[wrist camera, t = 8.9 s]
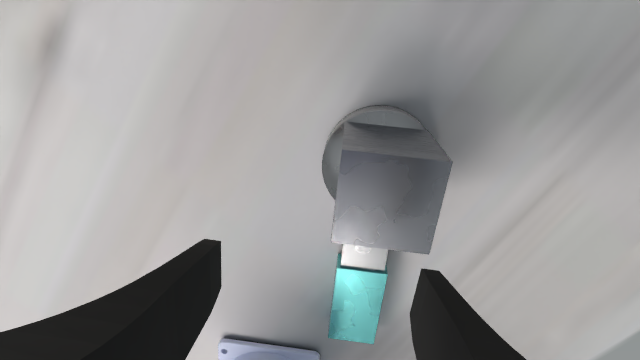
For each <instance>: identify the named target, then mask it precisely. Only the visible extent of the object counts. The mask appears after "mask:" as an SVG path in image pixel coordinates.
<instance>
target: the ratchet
mask: <svg viewBox="0 0 640 360" xmlns="http://www.w3.org/2000/svg"><path fill="white" fill-rule="evenodd" d="M345 121H346V122H355V123H365V124H374V125H383V126H393V127H402V128H412V129H421V130H426V129H425V128H424V127H423V126H422V124H421V123H420V122H419V121H418V120H417V119H416V118H415V117H413V116H412V115H411V114H409V113H407V112H405V111H403V110H401V109H398V108H395V107H391V106H381V105H378V106H369V107H365V108H362V109H359V110H356V111H354V112H352V113H350V114H349V115H347V116H346V117H345V118H343V119H342V120H341V121H340V122H339V123H338V124H337V125H336V126H335V128H334V129H333V131H332V132H331V134H330V136H329V138H328V140H327V143H326V146H325V150H324V154H323V160H322V173H323V178H324V182H325V184H326V187H327V189H328V191H329V192H330V194H331V195H332V197H333V198H334V199H335V200H336V192H337V184H338V175H339V167H340V158H341V149H342V141H343V132H344V124H345ZM387 255H388V249H380V248H372V247H364V246H356V245H348V244H342V251H341V254H338V259H337V267H336V275H335V283H334V290H333V298H332V306H331V314H330V322H329V334H328V338H333V339H340V340H347V341H355V342H362V343H369V344H374V340H375V335H376V330H377V325H378V320H379V315H380V310H381V305H382V300H383V295H384V290H385V285H386V280H387V275H388V274H387V267H386V260H387Z"/></svg>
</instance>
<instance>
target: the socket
mask: <svg viewBox="0 0 640 360" xmlns="http://www.w3.org/2000/svg"><path fill="white" fill-rule="evenodd" d="M451 166H452V161H451V159H450V158H449V157H448V155H447V154H446V153H445V152H444V150H443V149H442V148H441V147H440V145H439V144H438V143H437V141H436V140H435V139H434V138H433V136H432V135H431V134H430V132H429V131H428V130H421V129H412V128H402V127H393V126H383V125H374V124H365V123H355V122H346V121H345V124H344V132H343V141H342V149H341V158H340V167H339V175H338V184H337V192H336V201H335V210H334V219H333V228H332V237H331V242H332V243H340V244H348V245H356V246H364V247H372V248H380V249H388V250H397V251H405V252H413V253H421V254H429V253H430V249H431V245H432V241H433V237H434V233H435V229H436V225H437V222H438V218H439V214H440V210H441V206H442V202H443V198H444V194H445V190H446V186H447V182H448V178H449V174H450V170H451Z"/></svg>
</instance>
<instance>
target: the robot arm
mask: <svg viewBox="0 0 640 360" xmlns="http://www.w3.org/2000/svg"><path fill="white" fill-rule="evenodd" d="M220 289H221V241H216V240H208V239H203V240H202V241H200V242H198V243H197V244H195V245H194V246H192V247H190V248H189V249H187V250H186V251H184V252H183V253H181V254H180V255H178V256H176V257H175V258H173V259H172V260H170V261H168V262H167V263H165V264H164V265H162V266H160V267H159V268H157V269H155V270H153V271H152V272H150V273H148V274H146V275H145V276H143V277H141V278H139V279H137V280H136V281H134V282H132V283H130V284H128V285H126V286H124V287H122V288H120V289H118V290H116V291H114V292H112V293H110V294H107V295H105V296H103V297H101V298H99V299H96V300H94V301H91V302H89V303H86V304H84V305H81V306H79V307H76V308H74V309H71V310H69V311H66V312H64V313H61V314H58V315H55V316H52V317H49V318H46V319H43V320H40V321H37V322H34V323H31V324H28V325H24V326H21V327H18V328H14V329H11V330H7V331H4V332H0V360H185V359H186V357H187V355H188V354H189V352H190V350H191V348H192V346H193V345H194V343H195V341H196V339H197V337H198V336H199V334H200V332H201V330H202V328H203V327H204V325H205V323H206V321H207V319H208V317H209V316H210V314H211V312H212V309H213V307H214V304H215V302H216V299H217V297H218V294H219V292H220ZM410 321H411V331H412V340H413V345H414V350H415V354H416V359H417V360H526V359H525V358H524V357H523V356H522V355H520V354H519V353H518V352H517V351H516V350H515V349H513V348H512V347H511V346H510V345H509V344H508V343H507V342H506V341H504V340H503V339H502V338H501V337H500V336H499V335H498V334H497V333H496V332H495V331H494V330H493V329H492V328H491V327H490V326H489V325H488V324H487V323H486V322H485V321H484V320H483V319H482V318H481V317H480V316H479V315H478V314H477V313H476V312H475V311H474V310H473V308H472V307H471V306H470V305H469V304H468V303H467V302H466V301H465V300H464V299H463V297H462V296H461V295H460V294H459V293H458V292H457V291H456V289H455V288H454V287H453V286H452V285H451V284H450V283H449V281H448V280H447V279H446V278H445V277H444V276H443V275H442V274H441V273H440V271H436V270H428V269H421V272H420V276H419V280H418V284H417V288H416V292H415V295H414V299H413V303H412V307H411V311H410ZM225 349H226V350H225ZM218 356H219V360H320V355H319V353H318V352H316V351H311V350H304V349H297V348H290V347H283V346H276V345H268V344H261V343H254V342H247V341H240V340H233V339H221V340H220V342H219V344H218Z"/></svg>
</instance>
